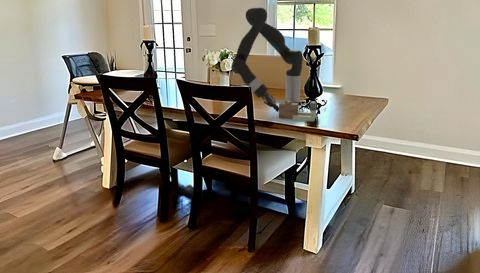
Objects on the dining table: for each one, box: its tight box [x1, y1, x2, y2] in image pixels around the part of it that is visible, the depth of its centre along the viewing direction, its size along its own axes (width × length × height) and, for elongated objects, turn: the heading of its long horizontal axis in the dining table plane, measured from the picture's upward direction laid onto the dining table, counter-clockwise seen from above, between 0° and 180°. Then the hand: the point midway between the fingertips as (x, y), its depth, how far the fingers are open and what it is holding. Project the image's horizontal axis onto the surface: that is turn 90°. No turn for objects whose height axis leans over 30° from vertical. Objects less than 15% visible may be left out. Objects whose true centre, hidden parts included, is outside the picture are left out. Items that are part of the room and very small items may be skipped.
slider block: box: [278, 100, 300, 120], centre depth 231 cm, size 5×10×9 cm, turn 73°
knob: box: [309, 101, 318, 111], centre depth 224 cm, size 4×4×4 cm
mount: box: [292, 109, 317, 122], centre depth 229 cm, size 9×12×6 cm
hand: (278, 110), depth 233 cm, fingers closed
